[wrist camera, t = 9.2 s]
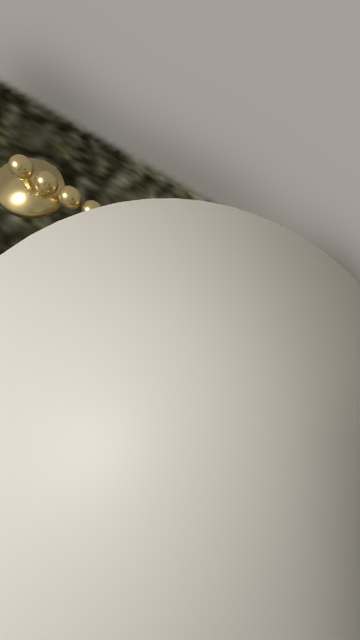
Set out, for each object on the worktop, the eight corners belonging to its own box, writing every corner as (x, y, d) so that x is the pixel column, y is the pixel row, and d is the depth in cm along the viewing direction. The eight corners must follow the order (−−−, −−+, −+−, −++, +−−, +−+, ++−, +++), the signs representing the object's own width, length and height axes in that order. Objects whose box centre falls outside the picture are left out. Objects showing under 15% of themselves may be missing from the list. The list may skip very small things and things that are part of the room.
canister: (138, 516, 13) (181, 1152, 2) (56, 413, 14) (-276, 412, 3) (228, 420, 15) (525, 444, 4) (151, 334, 16) (204, 134, 4)
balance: (187, 333, 17) (221, 284, 11) (22, 269, 17) (-47, 178, 10) (205, 282, 19) (246, 211, 12) (52, 221, 18) (7, 113, 12)
